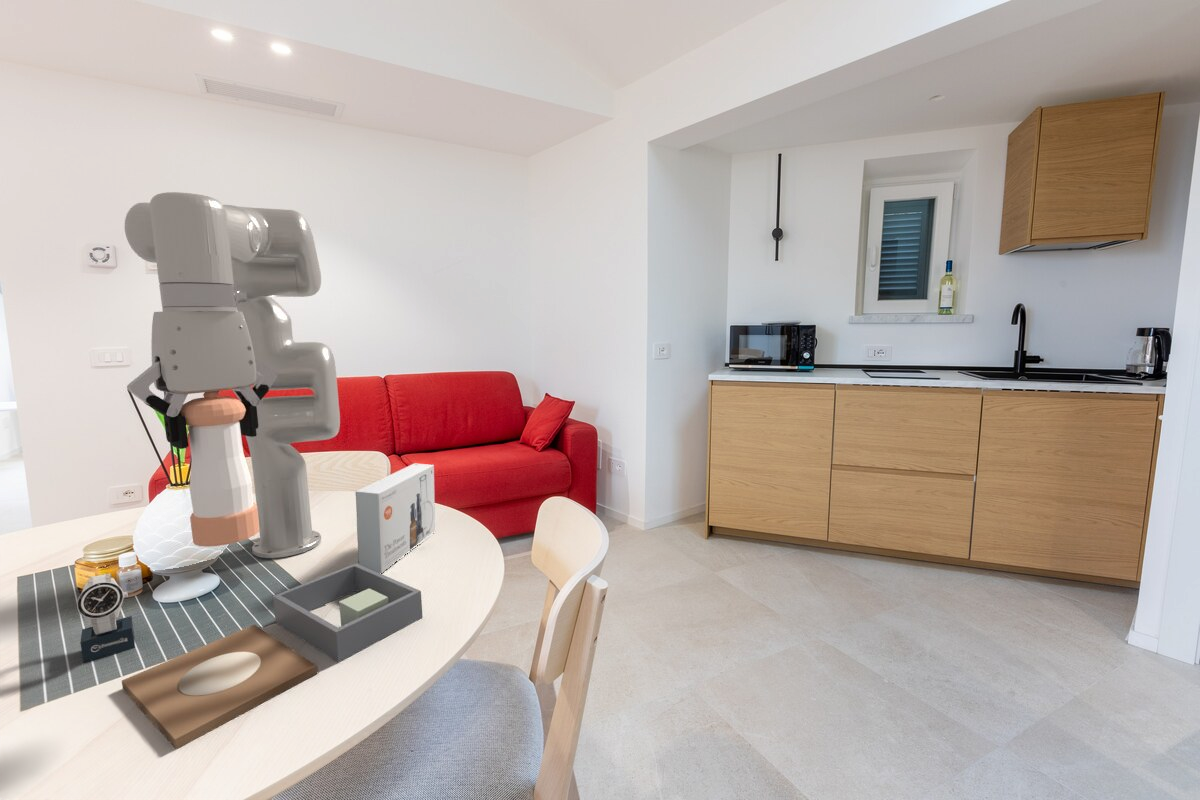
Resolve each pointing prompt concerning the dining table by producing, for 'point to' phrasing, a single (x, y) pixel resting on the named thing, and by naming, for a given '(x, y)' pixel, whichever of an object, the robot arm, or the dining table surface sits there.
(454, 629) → the dining table surface
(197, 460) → the pepper shaker
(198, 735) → the serving board
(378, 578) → the bin
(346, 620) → the sage block
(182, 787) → the dining table surface
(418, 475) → the skincare box
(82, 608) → the watch
